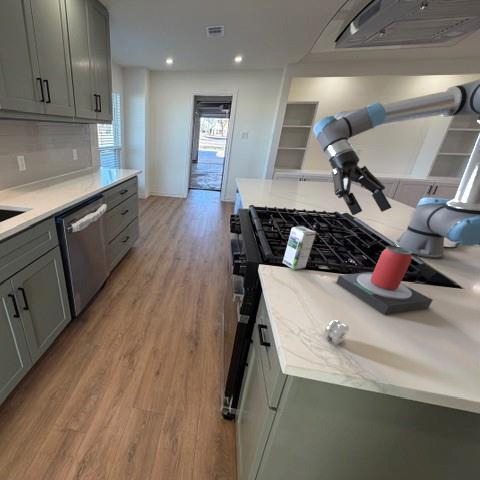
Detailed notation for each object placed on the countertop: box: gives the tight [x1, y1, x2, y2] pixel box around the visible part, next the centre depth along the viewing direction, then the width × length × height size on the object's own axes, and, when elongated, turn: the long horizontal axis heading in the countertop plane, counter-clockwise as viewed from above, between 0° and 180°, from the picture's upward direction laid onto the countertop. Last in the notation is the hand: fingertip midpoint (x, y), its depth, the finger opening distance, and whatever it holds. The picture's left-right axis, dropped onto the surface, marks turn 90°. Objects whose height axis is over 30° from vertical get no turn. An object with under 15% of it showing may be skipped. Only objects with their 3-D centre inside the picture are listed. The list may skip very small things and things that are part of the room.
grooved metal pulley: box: [323, 319, 350, 345], centre depth 60 cm, size 5×3×5 cm, turn 122°
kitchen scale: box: [336, 271, 434, 316], centre depth 78 cm, size 16×16×4 cm
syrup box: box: [282, 226, 317, 271], centre depth 92 cm, size 6×6×14 cm
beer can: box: [371, 245, 413, 290], centre depth 75 cm, size 7×7×12 cm
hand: (372, 211), depth 80 cm, fingers open, 13 cm apart
